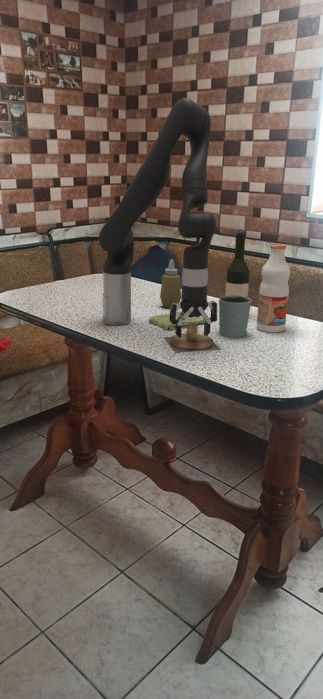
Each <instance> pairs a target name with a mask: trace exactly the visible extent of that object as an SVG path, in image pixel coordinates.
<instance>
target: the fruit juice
mask: <svg viewBox="0 0 323 699" xmlns="http://www.w3.org/2000/svg"><path fill="white" fill-rule="evenodd" d="M269 248H270V253H269V257H268V260H267V261H266V263H265V264H264V265H263V266H262V268H261V271H260V272H261V279H262V280H261V283H260V285H259V290H258V304H257V314H256V315H257V316H256V328H257V330H258V331H262V332H265V333H272V334H273V333H281V332H283V331H284V330H285V328H286V318H287V310H288V303H289V302H288V300H289V294H290V287H289V283H288V282H289V279H290V276H291V269H290V266H289V265H288V263H287V261H286V256H285V251H286V249H287V245H286V244H283V243H271V244H270V247H269Z"/></svg>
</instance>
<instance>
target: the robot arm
mask: <svg viewBox="0 0 323 699" xmlns="http://www.w3.org/2000/svg"><path fill="white" fill-rule="evenodd" d="M211 124H212V122H211V114H210V113H209V111H208V110H207V109H206V108H205V107H203V106H202V105H200V104H198V103H196V102H195V101H194V100H192V99H190V98H187V97H183V98H180V99H179V100H177V101H176V103H174V104H173V106H172V108H171V110H170V111H169V113H168V115H167V117H166V118H165V121H164V123H163V125H162V127H161V130H160V132H159V134H158V136H157V138H156V140H155V142H154V144H153V145H152V147H151V149H150V151H149V152H148V154H147V156H146V157H145V159H144V161H143V163H142V164H141V165H140V167H139V169H138V170H137V172H136V174H135V175H134V177H133V179H132V180H131V183H130V185H129V186H128V188H127V189H126V192H125V193H124V195H123V197H122V198H121V200H120V202H119V204H118V206H117V207H116V209H115V210H114V211H113V213H111V214H112V215H111V216H110V217H109V218H108V220H107V221H105V224H104V225H103V226H102V227H101V229H100V231H99V233H98V234H99V235H98V243H99V246H100V248H101V249H102V250H103V251H104V252H106V253H107V256H106V258H105V260H104V262H103V265H102V277H103V278H102V281H103V282H102V283H103V289H102V290H103V292H102V321H103V323H104V324H105V325H110V326H111V325H113V326H123V325H128V324H130V323H131V322H132V265H133V262H134V250H135V249H134V247H135V246H134V245H135V242H134V241H135V240H134V239H135V238H134V237H135V236H134V231H133V226H134V225H135V223H136V222H137V220H139V218H140V217H142V215H143V214H144V213H145V212H147V210H148V209H149V208H150V207H151V206H152V205H153V204H154V203H155V202H156V200H157V199H158V198H159V196H160V194H161V193H162V192H163V190H164V189H165V187H166V185H167V183H168V181H169V178H170V171H171V158H172V153H173V150H174V148H175V146H176V144H177V143H178V141H179V139H180V138H181V136H184V137H185V138H186V139H188V141H189V147H190V155H189V157H188V161H187V162H186V164H185V167H184V169H183V171H182V177H181V185H182V186H181V189H182V204H181V211H180V214H179V217H178V218H179V219H178V222H177V231H178V233H179V235H180V236H181V237H182V238H185V239H200V241H199V242H198V243H196V244H194V245H189V246H186V247H185V248H184V249H183V255H182V256H183V259H182V260H183V261H182V264H183V266H182V274H181V279H180V282H181V300H180V303H173V302H172V303H171V304H170V308H169V314H170V318H169V321H170V322H171V323H172V324H175V325H176V326H175V330H174V331H175V335H177V336H178V337H179V338H180V337H181V334H183V333H182V332H183V331H182V329H183V328H182V326H181V324H182V323H183V321H184V320H186V319H187V317H189V318H190V317H201V318H203V319H204V320H205V322H204V324H203V335H205V336H208V337H209V335H210V333H211V324H212V323H215V322H217V321H218V303H217V301H215V300H211V301H208V284H209V283H208V282H209V269H208V266H209V265H208V264H209V263H208V262H209V251H210V247H211V243H212V239H213V236H214V233H215V231H216V227H217V220H216V217H215V216H214V214H213V213H211V212H208V211H203V212H202V211H198V212H197V211H191V210H193V209H197V208H200V207H203V206H205V205H207V203H208V199H209V198H208V197H209V196H208V195H209V194H208V177H207V176H208V175H207V174H208V172H207V171H208V170H207V166H208V163H207V162H208V154H209V148H210V146H209V144H210V133H211ZM208 308H209V309H210V316H208V314H207V312H206V310H207V309H208ZM179 309H181V311H180V312H181V313H180V314H179V317H178V318H177V319H176V312H179Z"/></svg>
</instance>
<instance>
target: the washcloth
mask: <svg viewBox="0 0 323 699" xmlns="http://www.w3.org/2000/svg"><path fill="white" fill-rule="evenodd" d="M180 313H181V311H176V319H177V318H178V317H179V314H180ZM169 318H170V313H168V314H167V313H166V314H158V315H153V316H151V317H149V319H148V323H149V324H150V325H154V326H158V327H160V328H161V329H163V330H165V331H167V332H168V331H171V332H172V331H175V326H176V325H175V324H172V323H171V322H170V321H169ZM204 322H205V320H204V319H203V317H202V316H199V317H190V318H189V317H187V319H186V320H184V321H183V323H182V324H181V326H182V329H187V323H197V324H198V326H199V325H204Z"/></svg>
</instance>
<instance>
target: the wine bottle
mask: <svg viewBox="0 0 323 699" xmlns="http://www.w3.org/2000/svg"><path fill="white" fill-rule="evenodd" d="M245 244H246V233H245V231H244V230H239V231H238V230H237V233H235V244H234V257H233V259H232V261H231V262H230V264H229V265H228V267H227V268H226V278H225V280H226V281H225V294H224V296H243V297H247V298H249V297H248V296H249V283H250V268H249V267H248V264H247V262H246V261H245V260H246V259H245V247H246V245H245Z"/></svg>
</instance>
